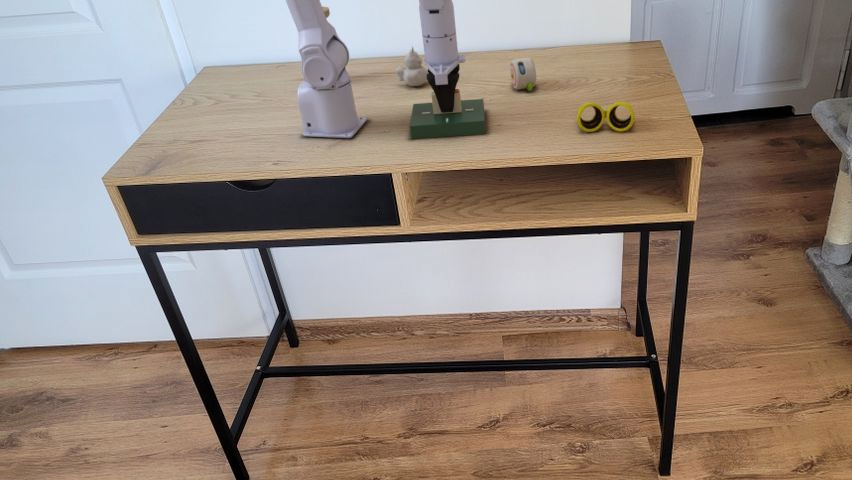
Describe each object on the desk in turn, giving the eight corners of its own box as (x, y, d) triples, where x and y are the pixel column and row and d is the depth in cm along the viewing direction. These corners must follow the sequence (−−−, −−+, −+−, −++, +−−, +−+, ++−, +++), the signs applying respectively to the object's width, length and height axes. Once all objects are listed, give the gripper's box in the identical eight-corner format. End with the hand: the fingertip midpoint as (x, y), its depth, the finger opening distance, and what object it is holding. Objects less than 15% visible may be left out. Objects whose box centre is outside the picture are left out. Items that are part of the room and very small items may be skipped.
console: (411, 139, 131) (409, 125, 129) (414, 116, 139) (413, 103, 138) (485, 133, 131) (484, 119, 129) (484, 111, 139) (483, 97, 138)
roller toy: (515, 95, 144) (514, 65, 141) (507, 84, 150) (505, 55, 146) (537, 91, 145) (536, 62, 142) (528, 80, 150) (527, 52, 147)
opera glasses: (632, 125, 132) (633, 97, 130) (634, 132, 127) (635, 103, 125) (577, 126, 133) (577, 98, 131) (577, 133, 128) (577, 104, 126)
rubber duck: (428, 89, 150) (423, 49, 145) (396, 91, 150) (390, 51, 146) (430, 79, 155) (425, 40, 150) (398, 81, 155) (392, 43, 150)
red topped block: (433, 114, 133) (431, 93, 131) (433, 110, 134) (431, 90, 132) (461, 112, 133) (459, 91, 131) (461, 108, 134) (459, 88, 132)
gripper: (462, 44, 119) (469, 124, 127) (462, 18, 131) (469, 92, 139) (418, 48, 120) (428, 127, 127) (423, 21, 131) (431, 95, 139)
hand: (447, 109), depth 133 cm, fingers closed on red topped block, 2 cm apart
